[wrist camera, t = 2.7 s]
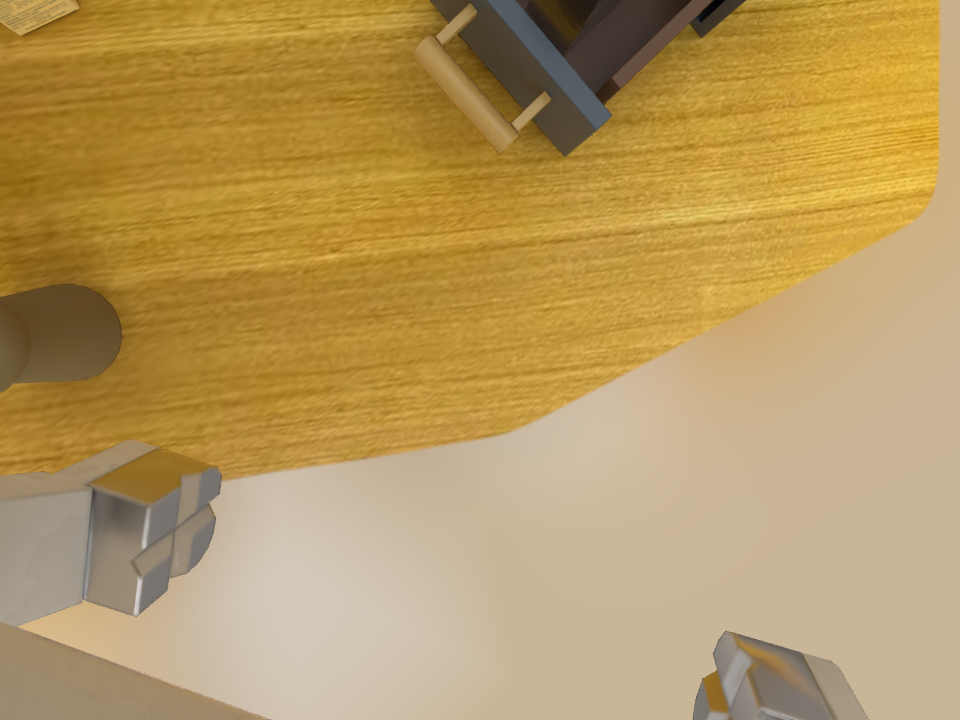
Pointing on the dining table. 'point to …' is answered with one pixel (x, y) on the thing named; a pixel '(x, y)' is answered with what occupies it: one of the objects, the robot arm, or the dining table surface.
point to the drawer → (548, 64)
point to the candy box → (33, 13)
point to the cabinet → (714, 15)
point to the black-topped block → (568, 19)
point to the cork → (56, 335)
